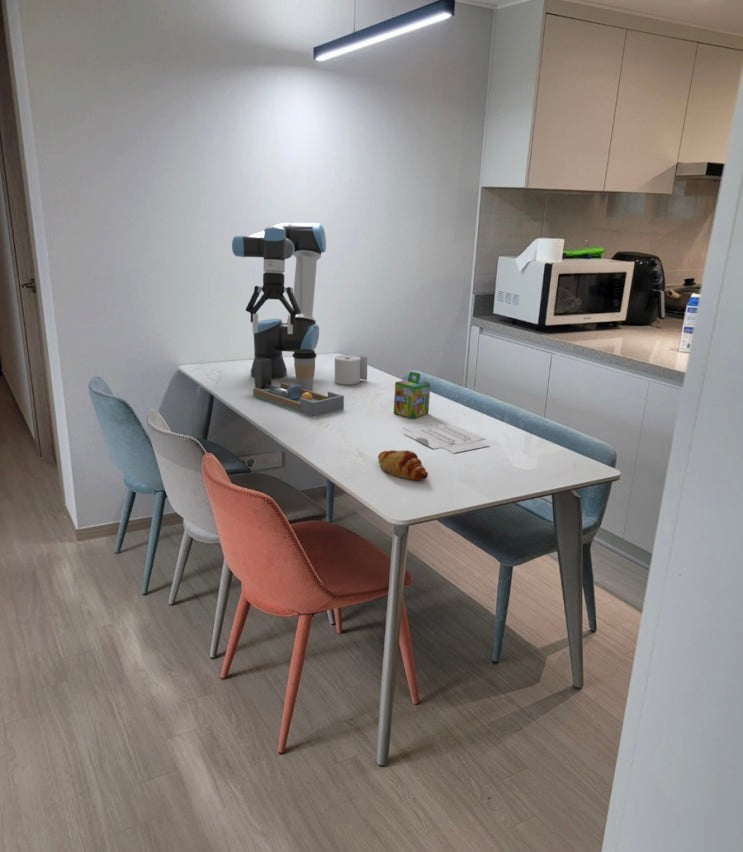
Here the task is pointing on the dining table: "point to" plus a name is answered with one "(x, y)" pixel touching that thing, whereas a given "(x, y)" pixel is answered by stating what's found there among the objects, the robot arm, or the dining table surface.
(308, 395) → the ball
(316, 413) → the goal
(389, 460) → the croissant
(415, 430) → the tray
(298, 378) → the coffee cup
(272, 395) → the lane
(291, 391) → the striker rod
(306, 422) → the dining table surface
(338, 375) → the toilet tissue
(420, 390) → the chalk box
